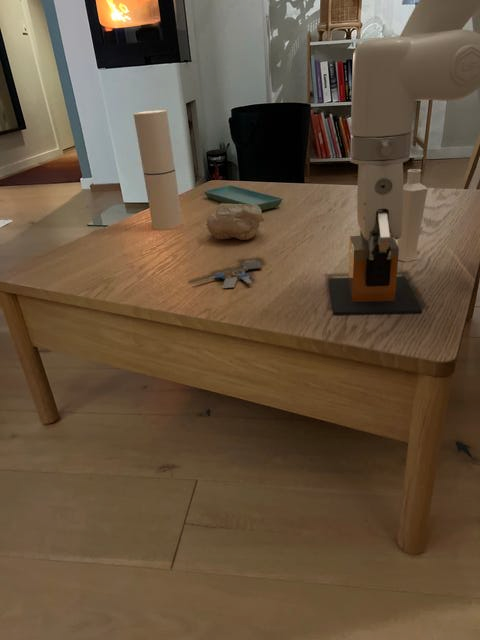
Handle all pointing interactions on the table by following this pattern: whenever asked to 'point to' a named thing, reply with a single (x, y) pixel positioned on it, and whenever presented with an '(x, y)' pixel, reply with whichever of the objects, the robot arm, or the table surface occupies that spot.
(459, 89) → the robot arm
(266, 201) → the shallow long dish
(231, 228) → the fossil replica
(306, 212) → the table surface
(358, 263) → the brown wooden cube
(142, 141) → the cylindrical container
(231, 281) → the toy rifle
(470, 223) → the table surface
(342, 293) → the coaster
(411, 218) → the perfume bottle
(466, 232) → the table surface
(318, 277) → the table surface
